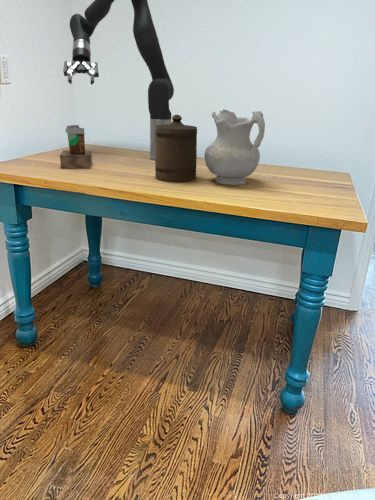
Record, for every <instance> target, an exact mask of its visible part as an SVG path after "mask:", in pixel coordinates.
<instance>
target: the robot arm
mask: <svg viewBox="0 0 375 500" xmlns="http://www.w3.org/2000/svg"><path fill="white" fill-rule="evenodd" d="M130 1H131V5H132V8H133V15H134V16H133V24H132V33H133V37H134V41H135V44H136V47H137V49H138V52H139V54H140V56H141V58H142V60H143V62H145V65H146V66H147V68H148V71H149V74H150V76H151V82H150V83H149V84H148V89H147V104H148V105H147V107H148V112H149V130H150V131H149V132H150V133H149V142H150V143H149V145H150V146H149V148H150V149H149V151H150V152H149V158H150V160H154V161H155V149H156V126H157V125H167V124H170V123H171V122H172V111H171V110H170V101H171V99H172V98H173V96H174V92H175V88H174V85H173V82H172V80H171V77H170V74H169V71H168V70H167V66H166V64H165V61H164V60H165V59H164V55H163V52H162V49H161V46H160V45H161V44H160V40H159V38H158V35H157V30H156V28H155V24H154V21H153V18H152V14H151V10H150V6H149V3H148V2H149V1H148V0H130ZM114 2H115V0H94V1H93V2H92V3H91V4H89V5H88V6H87V8H86V9H85V10H84V14H83V15H84V16H83V15H81V14H80V13H74V14H72V16H71V18H70V19H69V29H70V33H71V36H72V38H73V44H72V59H71V62H68V61H67V60H65V61H63V70H62V71H63V75H64V77H67V82H68V83H69V85H72V84H73V83H72V82H73V76H75V75H76V74H83V75H84V74H85V75H88V76H89V77H90V85H92V86H93V84H94V83H95V78H99V77H100V75H99V74H100V73H99V64H98V62H94V63H91V59H92V58H91V38H90V37H92V35H93V33H94V32H95V30H96V28H97V26H98V24H99V23H100V22H102V20H103V19H104V18H106V17H107V15H108V14H109V13H110V10H111V7H112V4H113V3H114ZM68 69H69V70H68ZM92 69H93V70H94V71H93V70H92Z"/></svg>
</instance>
